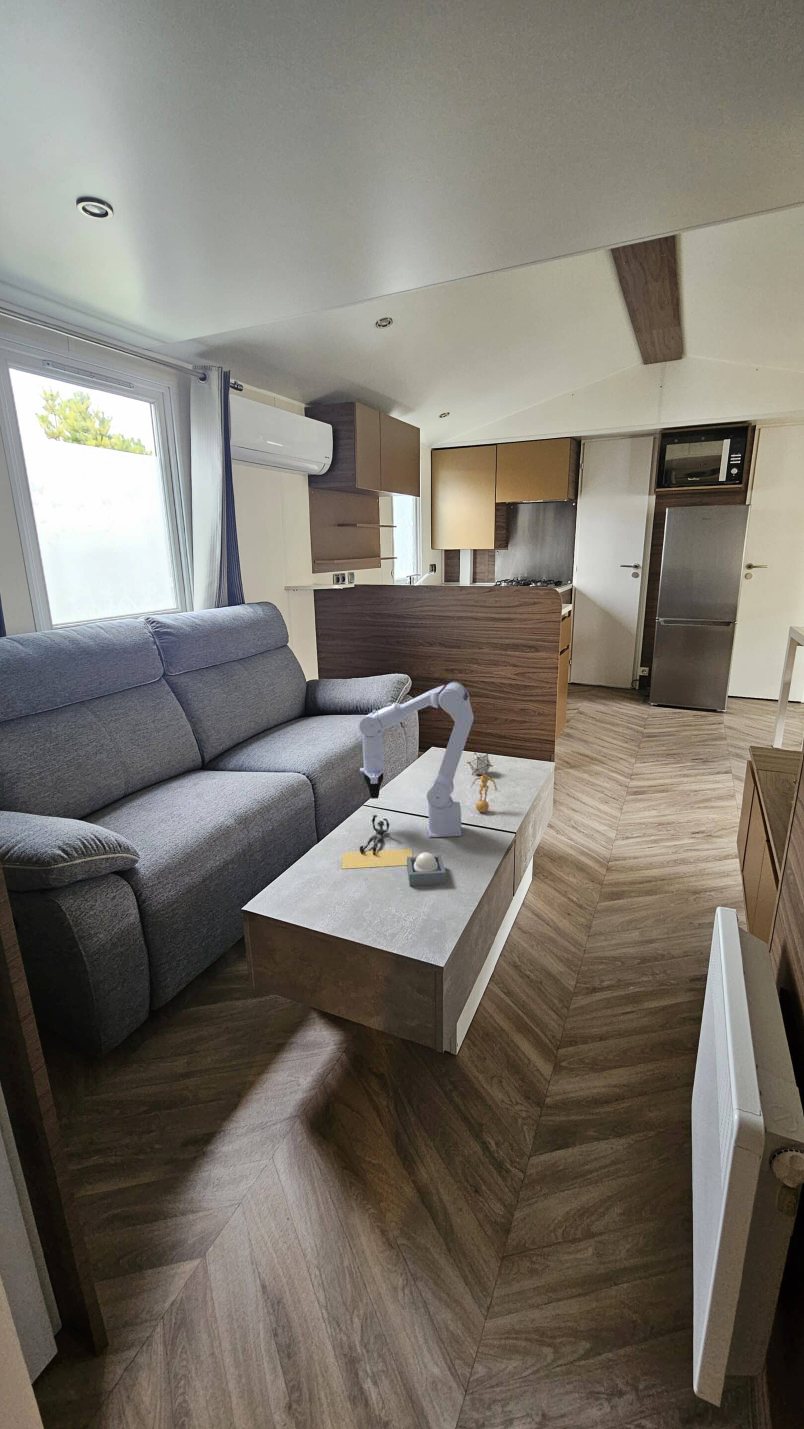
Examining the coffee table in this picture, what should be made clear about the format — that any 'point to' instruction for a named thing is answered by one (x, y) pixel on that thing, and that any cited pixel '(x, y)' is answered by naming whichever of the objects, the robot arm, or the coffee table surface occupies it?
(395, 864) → the yellow rectangular panel
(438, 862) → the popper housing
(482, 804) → the figurine
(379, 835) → the zombie figurine
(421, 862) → the popper dome
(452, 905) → the coffee table surface
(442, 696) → the robot arm
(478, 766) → the grey spiky lattice polyhedron
